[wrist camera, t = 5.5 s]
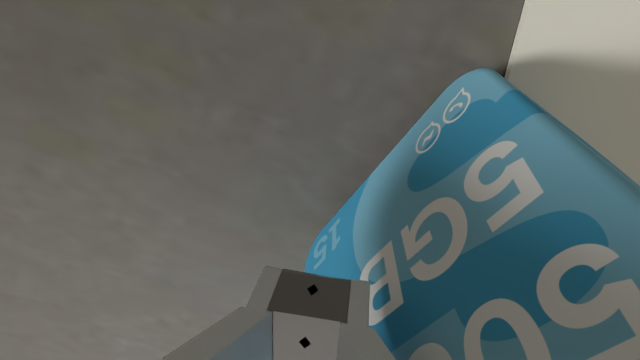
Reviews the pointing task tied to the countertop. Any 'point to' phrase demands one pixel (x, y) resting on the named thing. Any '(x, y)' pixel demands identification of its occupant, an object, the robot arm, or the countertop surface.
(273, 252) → the countertop surface
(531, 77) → the mat
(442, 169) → the data package
